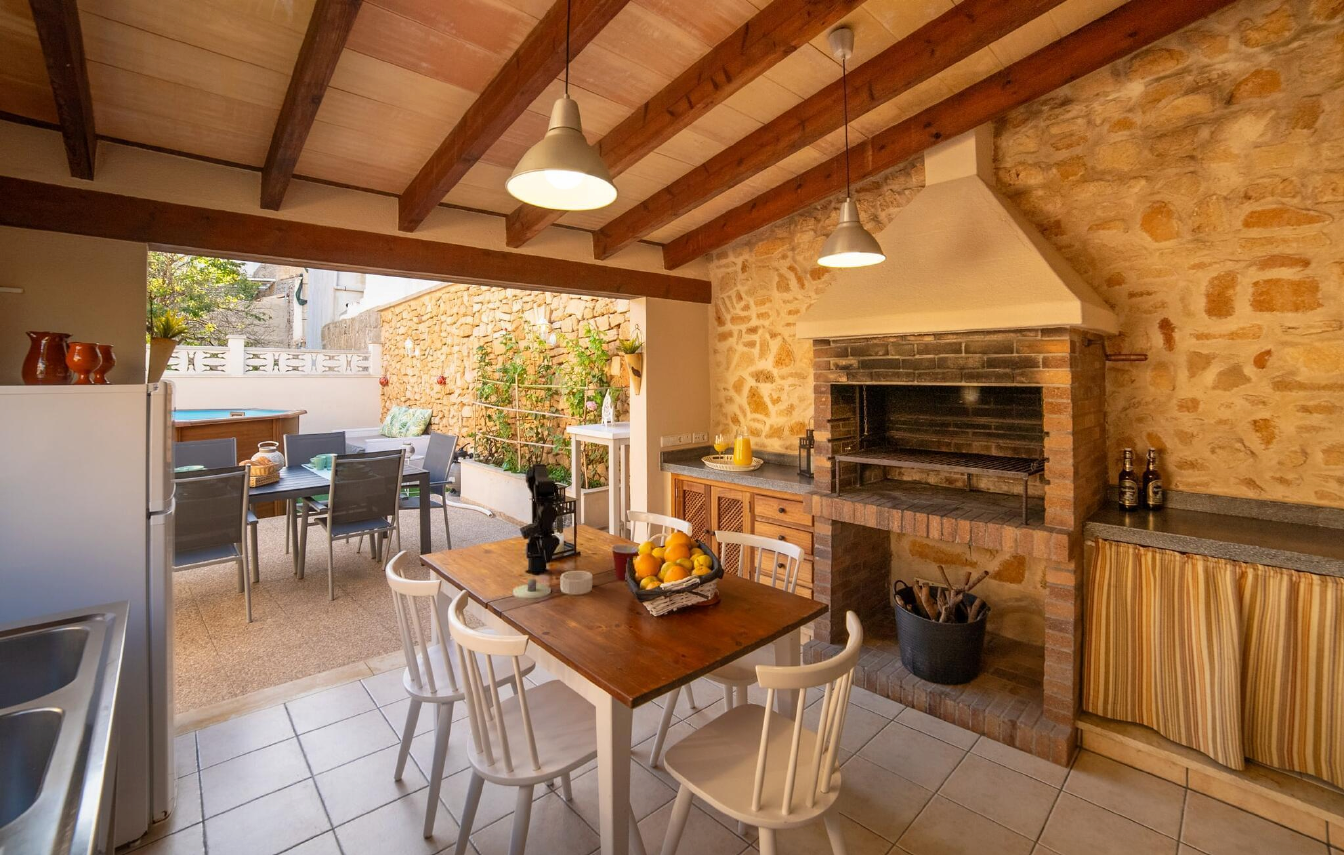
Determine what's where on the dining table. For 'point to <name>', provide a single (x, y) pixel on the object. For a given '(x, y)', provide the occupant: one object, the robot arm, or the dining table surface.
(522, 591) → the lid
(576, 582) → the bowl
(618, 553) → the plastic cup
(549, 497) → the robot arm
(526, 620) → the dining table surface
